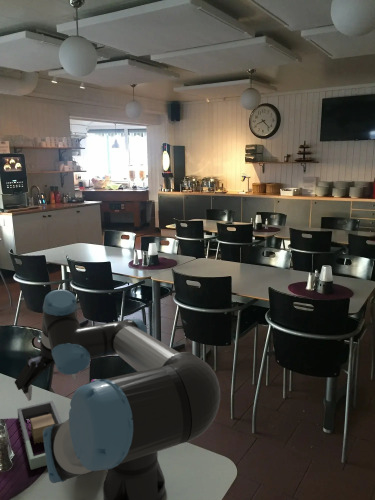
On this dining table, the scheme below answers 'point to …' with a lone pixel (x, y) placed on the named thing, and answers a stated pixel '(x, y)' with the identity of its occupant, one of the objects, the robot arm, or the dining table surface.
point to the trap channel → (27, 414)
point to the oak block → (40, 426)
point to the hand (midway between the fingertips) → (51, 386)
